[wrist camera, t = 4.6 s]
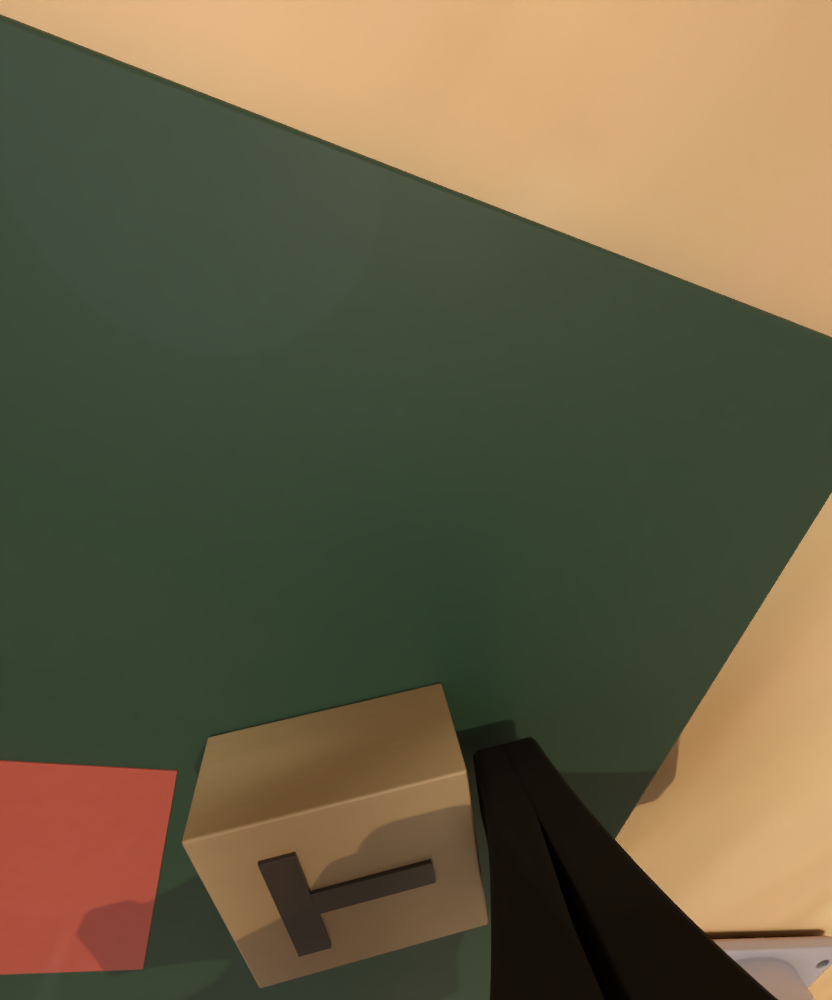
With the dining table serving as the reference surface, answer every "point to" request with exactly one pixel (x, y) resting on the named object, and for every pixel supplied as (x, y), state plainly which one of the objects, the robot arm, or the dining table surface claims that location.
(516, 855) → the robot arm
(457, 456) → the game board
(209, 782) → the letter tile
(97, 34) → the dining table surface
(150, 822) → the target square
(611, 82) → the dining table surface
